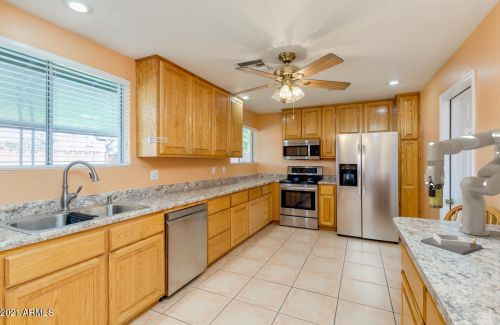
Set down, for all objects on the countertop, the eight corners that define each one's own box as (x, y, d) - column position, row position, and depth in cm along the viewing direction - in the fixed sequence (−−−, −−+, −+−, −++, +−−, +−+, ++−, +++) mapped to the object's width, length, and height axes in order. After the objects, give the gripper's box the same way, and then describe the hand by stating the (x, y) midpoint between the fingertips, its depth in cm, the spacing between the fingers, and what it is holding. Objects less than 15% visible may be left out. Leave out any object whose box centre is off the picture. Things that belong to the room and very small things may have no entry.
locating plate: (440, 237, 126) (440, 229, 126) (482, 248, 111) (482, 239, 111) (420, 242, 119) (420, 233, 119) (461, 254, 104) (462, 245, 104)
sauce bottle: (445, 209, 128) (445, 172, 127) (432, 208, 129) (432, 172, 128) (438, 206, 134) (438, 171, 133) (426, 206, 135) (425, 171, 135)
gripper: (437, 163, 138) (437, 194, 138) (418, 164, 131) (418, 196, 131) (452, 163, 131) (452, 195, 131) (433, 164, 124) (433, 198, 124)
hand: (435, 195), depth 131 cm, fingers closed on sauce bottle, 6 cm apart
